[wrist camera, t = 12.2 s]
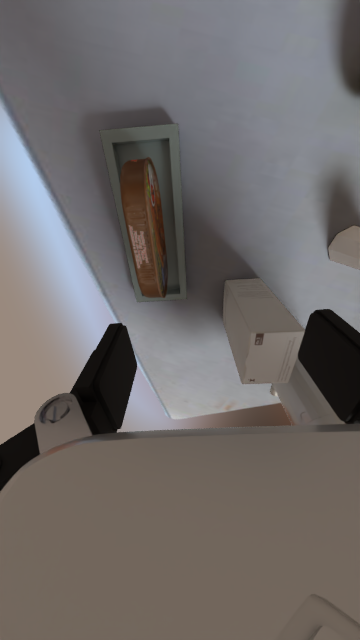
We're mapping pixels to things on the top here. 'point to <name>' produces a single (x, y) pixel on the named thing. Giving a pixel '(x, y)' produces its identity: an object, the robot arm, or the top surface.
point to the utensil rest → (166, 160)
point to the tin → (145, 225)
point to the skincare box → (260, 332)
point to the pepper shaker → (346, 248)
